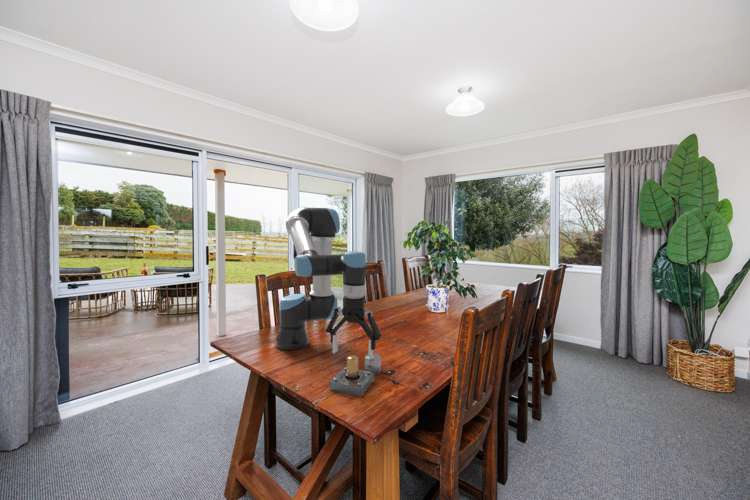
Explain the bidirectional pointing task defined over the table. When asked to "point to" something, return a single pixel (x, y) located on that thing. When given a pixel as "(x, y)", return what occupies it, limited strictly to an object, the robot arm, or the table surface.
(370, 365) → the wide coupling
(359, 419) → the table surface
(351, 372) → the brass peg
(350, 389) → the flange socket
